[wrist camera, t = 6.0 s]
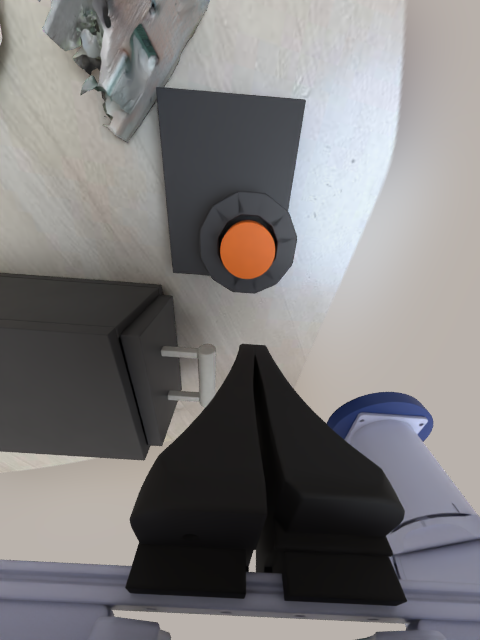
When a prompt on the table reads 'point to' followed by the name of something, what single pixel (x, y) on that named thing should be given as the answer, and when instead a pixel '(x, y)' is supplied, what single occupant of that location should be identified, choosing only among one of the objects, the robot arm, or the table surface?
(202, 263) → the control block
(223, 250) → the button
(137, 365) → the drawer
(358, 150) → the table surface
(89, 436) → the box
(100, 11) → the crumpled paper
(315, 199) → the table surface
